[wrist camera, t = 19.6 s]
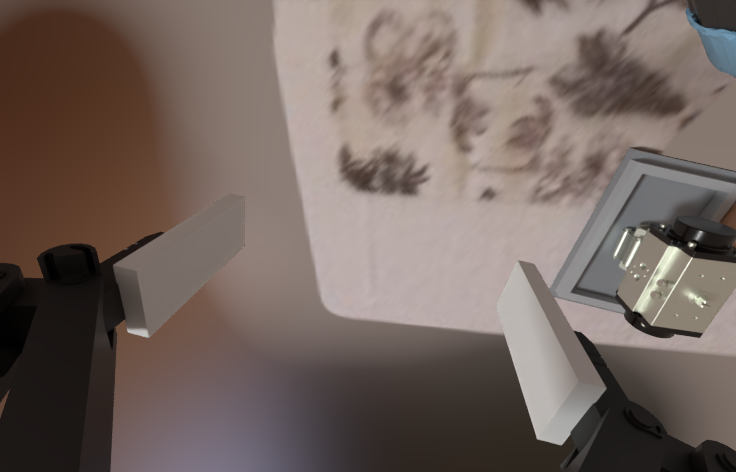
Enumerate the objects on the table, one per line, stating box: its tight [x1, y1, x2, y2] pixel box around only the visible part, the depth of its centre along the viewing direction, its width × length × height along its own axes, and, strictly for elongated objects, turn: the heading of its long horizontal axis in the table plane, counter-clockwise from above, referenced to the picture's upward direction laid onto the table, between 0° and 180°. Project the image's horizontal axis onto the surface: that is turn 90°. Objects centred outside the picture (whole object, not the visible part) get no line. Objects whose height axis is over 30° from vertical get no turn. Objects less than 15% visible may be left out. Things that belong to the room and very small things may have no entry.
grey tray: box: [550, 148, 736, 314], centre depth 38 cm, size 20×16×4 cm
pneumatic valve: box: [612, 216, 736, 338], centre depth 34 cm, size 6×12×12 cm, turn 176°
